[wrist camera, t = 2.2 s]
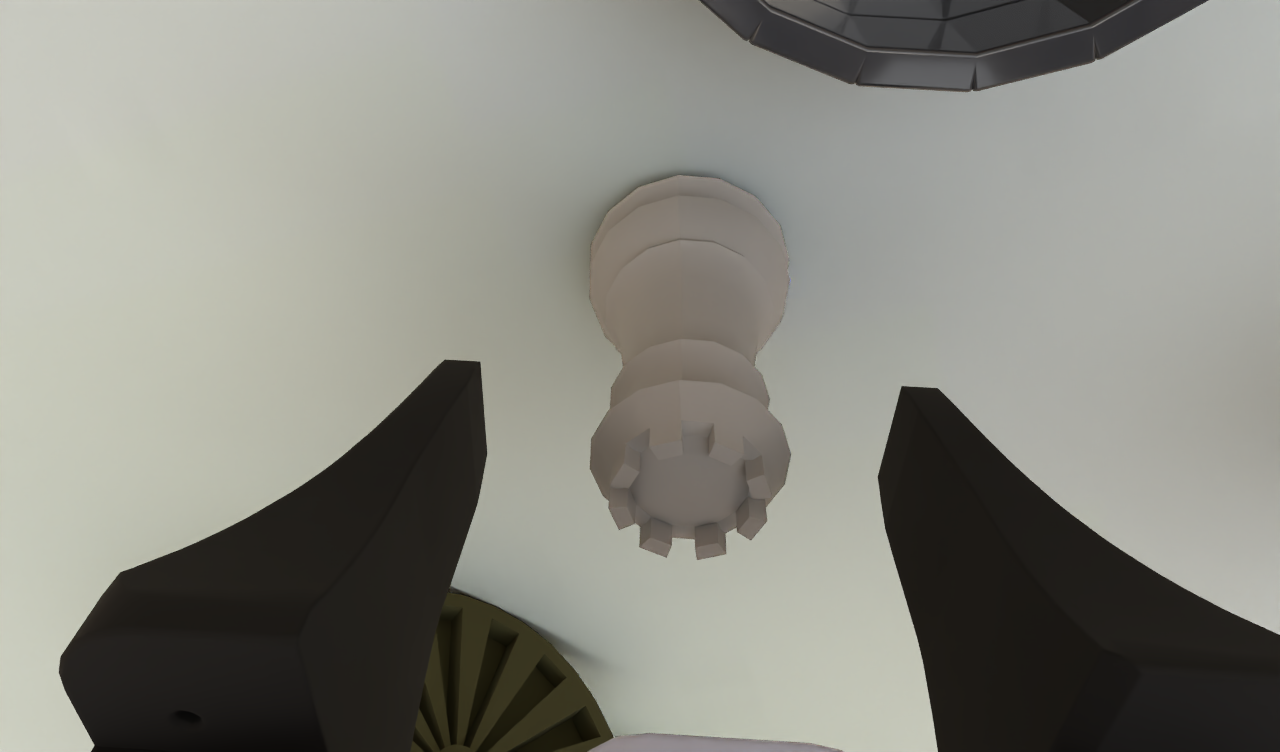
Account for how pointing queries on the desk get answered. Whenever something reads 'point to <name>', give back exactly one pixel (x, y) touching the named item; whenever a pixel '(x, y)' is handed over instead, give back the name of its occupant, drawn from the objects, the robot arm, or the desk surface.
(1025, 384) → the desk surface
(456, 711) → the cannon
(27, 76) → the desk surface
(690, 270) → the rook chess piece
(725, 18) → the bowl
